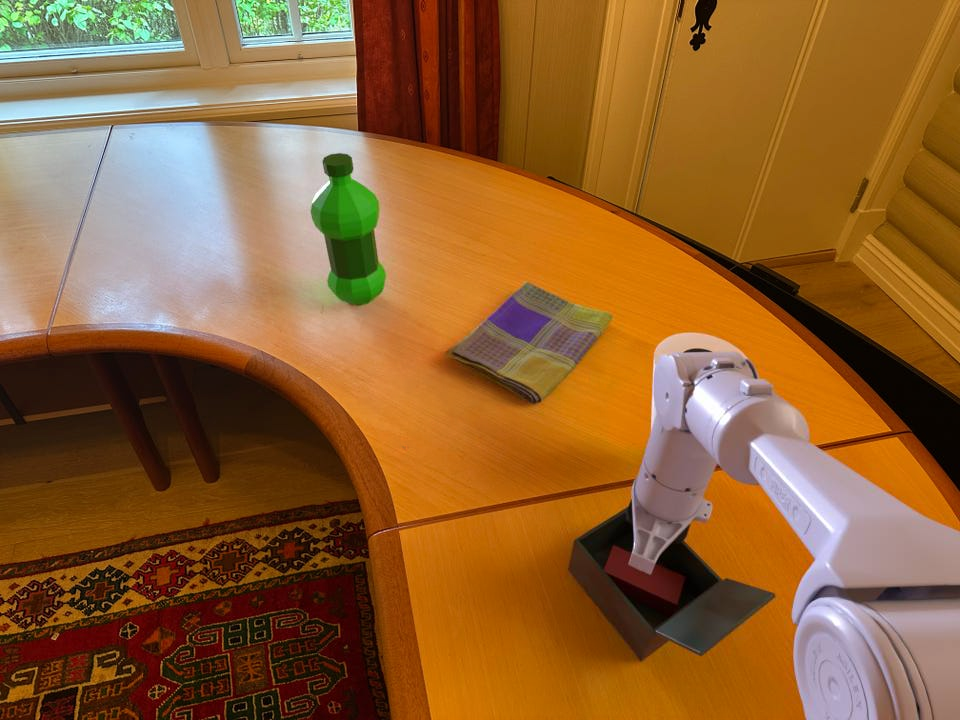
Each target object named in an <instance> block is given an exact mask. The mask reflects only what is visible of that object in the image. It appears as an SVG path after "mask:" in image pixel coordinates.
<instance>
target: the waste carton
mask: <svg viewBox="0 0 960 720" xmlns="http://www.w3.org/2000/svg"><path fill="white" fill-rule="evenodd" d="M627 508H628V506H626V507H625V508H623V509H622V510H619V511H618V512H617V513H615V514H613V515H612V516H610V517H608V518H606V520H604V521H602V522H601V523H599V524H597V525H596V526H594V527H593V528H591V529H589V530H587V531H586V532H584V533H583V534H581V535H579V536H578V537H576V538H574V539H573V542H572V546H571V547H572V548H571V552H570V558H569V563H568V567H567V571H568V572H569V573H570V574H571V576H572V577H573V578H574V580H575V581H576V582H577V583H578V585H579V586H580V587H581V588H582V590H583V591H584V592H585V593H586V595H587V596H588V597H589V599H590V601H592V602H593V603H594V605H595V606H596V607H597V608H598V610H599V611H600V612H601V614H602V615H603V616H604V617H605V618H606V620H607V621H608V622H609V624H610V625H611V626H612V627H613V629H614V630H615V631H616V632H617V634H618V635H619V636H620V637H621V639H622V640H623V641H624V643H625V644H626V645H627V646H628V648H629V649H630V650H631V651H632V652H633V654H634V655H635V657H637V659H638V660H639V662H643V661H644V660H646V659H647V658H648V657H650V656H651V655H652V654H654V653H655V652H656V651H657V650H659V649H660V648H661V647H663V646H664V645H666V644H667V643H668V642H670V641H669V640H667V639H665V638H663V637H661V636H659V635H657V634H656V630H657V629H658V628H660V627H661V626H662V625H664V624H665V623H666V622H668V621H669V620H670V619H672V618H673V617H674V616H676V615H677V614H678V613H680V612H681V611H683V610H684V609H685V608H687V607H688V606H689V605H691V604H692V603H693V602H695V601H696V600H697V599H699V598H700V597H701V596H703V595H704V594H705V593H707V592H708V591H709V590H711V589H712V588H713V587H715V586H716V585H718V584H719V583H720V582H722V581H723V580H724V579H722V577H720V576H719V574H717V572H716V571H715V570H714V569H713V568H712V567H710V565H708V563H707V562H706V561H705V560H704V559H703V558H702V557H701V556H700V555H699V554H698V553H697V552H696V551H695V550H694V549H693V548H692V546H690V545H689V544H688V543H687V542H686V541H685V540H684V541H683V542H682V543H679V544H678V543H675V544H670V545H669V546H668V547H667V548H666V549H665V550H664V551H663V552H662V553H661V554H660V556H659V557H658V559H657V561H656V563H655V564H657V565H660V566H662V567H664V568H667V569H669V570H671V571H673V572H676V573H678V574H680V575H682V576H685V581H684V584H683V588H682V591H681V594H680V598H679V601H678V605H677V607H676V609H675V611H674V613H673V615H672V616H671V617H668V616H666V615H664V614H662V613H660V612H657V611H655V610H653V609H651V608H649V607H647V606H645V605H642V604H640V603H638V602H636V601H634V600H632V599H630V598H627V597H626V596H625V595H624V594H623V593H622V592H621V590H620V589H619V588H618V587H617V586H616V584H615V583H614V582H613V581H612V580H611V578H610V577H609V576H608V575H607V574H606V573H605V571H604V570H603V569H604V567H605V564H606V562H607V559H608V557H609V554H610V552H611V549H612V547H613V545H614V546H617V547H619V548H621V549H623V550H626V551H628V552H630V553H632V551H633V547H634V531H633V528H632V526H631V525H630V524H629V523H628V522H627V520H626V511H627Z"/></svg>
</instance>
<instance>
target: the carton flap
mask: <svg viewBox="0 0 960 720" xmlns="http://www.w3.org/2000/svg"><path fill="white" fill-rule="evenodd" d="M722 580H723V581H722V582H720V583H719V584H718V585H716V586H715V587H713V588H712V589H711V590H709V591H708V592H707V593H705V594H704V595H703V596H701V597H700V598H699V599H697V600H696V601H695V602H693V603H692V604H691V605H689V606H688V607H687V608H685V609H684V610H683V611H681V612H680V613H678V614H677V615H676V616H674V617H673V618H672V619H670V620H669V621H668V622H666V623H665V624H664V625H662V626H661V627H660V628H658V629H657V630H656V634H657V635H659V636H661V637H663V638H665V639H667V640H669V641H668V642H670V643H671V642H672V643H673V644H675V645H678V646H679V647H681V648H683V649H684V650H687V651H689V652H691V653H693V654H696V656H699V657H703V656H704V655H705V654H706V653H707V652H709V651H710V650H711V649H713V648H714V647H715V646H716V645H718V644H719V643H720V642H721V641H723V640H724V639H725V638H726V637H727V636H729V635H730V634H732V633H733V632H734V631H735V630H736V629H738V628H739V627H741V625H743V624H744V623H745V622H746V621H748V620H749V619H750V618H752V617H753V616H754V615H755V614H756V613H758V612H759V611H760V610H761V609H763V608H764V607H765V606H766V605H768V604H769V603H770V602H772V601H773V600H774V599H776V597H777V596H776V593H775V592H772V591H770V590H766V589H762V588H759V587H756V586H753V585H750V584H746V583H744V582H740V581H737V580H734V579H731V578H728V577H726V578H724V579H722Z"/></svg>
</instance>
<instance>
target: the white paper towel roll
mask: <svg viewBox="0 0 960 720" xmlns="http://www.w3.org/2000/svg"><path fill="white" fill-rule="evenodd" d="M691 352H738V353H739V354H741V355H742V356H743V358H747V359H749V358H748V356H746V354H745V353H744V352H742V350H740V349H739V347H737V346H735V345H733V344H732V343H731V342H729V341H727V340H724V339H722V338H720V337H718V336H714V335H711V334H706V333H702V332H701V333H700V332H681V333H675V334H673V335H670V336H668V337H666V338H664V339H662V341H660V342H659V343H658V344H657V346H656V348H655V350H654V352H653V368H652V385H653V384H654V372H655V367H656V364H657V361H658V359H659V358H660V356H661V355H663V354H666V355H668V356H669V355H671V354H672V353H691ZM651 390H652V395H651V420H650V431H651V430H652V427H653V424H654V420H655V417H656V414H657V412H656V407H655V402H654V389H653V387H652V389H651Z"/></svg>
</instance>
